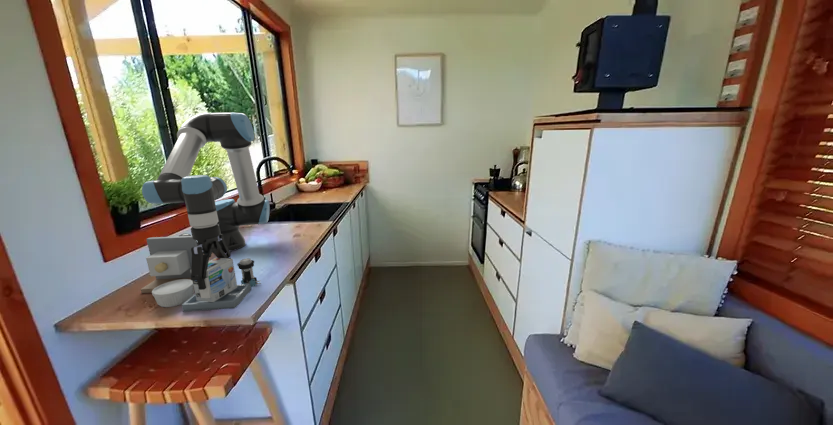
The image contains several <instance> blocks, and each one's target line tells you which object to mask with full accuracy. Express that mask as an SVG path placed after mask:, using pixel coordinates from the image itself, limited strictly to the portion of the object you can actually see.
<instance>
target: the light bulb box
mask: <svg viewBox="0 0 833 425" xmlns="http://www.w3.org/2000/svg"><path fill="white" fill-rule="evenodd" d="M229 258H230V257H229ZM229 258H217V257H216V256H215V257H214V258H212V259H211V260H210V259H209V262H208V267H207V271H206V272H207V273H206V278H207V277H208V281H209V286H210V291H211V296H212V297H210V298H201V295H200V291H199V287H198V282H197V280H193V286H194V287H193V291H194V294H195V295H196V300H197V301H207V302H215V301H216V300H218V299H219V298H221V297H223V296H224V295H226V294H228V293H229V292H231V291H232V290H234V289H236V288H237V285H238V283H237V278H236V277H237V276H236V271H235V264H234V259H233V258H231V259H229ZM190 271H191V270H190Z"/></svg>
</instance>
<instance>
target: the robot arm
mask: <svg viewBox="0 0 833 425" xmlns="http://www.w3.org/2000/svg"><path fill="white" fill-rule="evenodd" d="M176 138H177V140H176V142H175V144H174V146H173V148H172V150H171V152H170V154H169V156H168V157H167V160H166V162H165V164H164V166H163V168H162V170H161V172H160V173H159V175H158V177H157V179H156V180H154V179H151V180H148V181H145V182H144V183H143V184H142V187H141V193H142V197H143V199H144V200H145V201H146V202H147V203H149V204H152V205H153V204H154V205H156V204H157V205H158V204H159V205H165V204H166V205H167V204H179V203H185V208H186V211H187V219H188V222H189V226H190V227H191V228H190V232H191V235H192V238H193V239H194V240H196V241H197V242H198V246H197V247H192V248H191V252H192V266H191V280H192V281H193V280H197V282H198V287H199V291H200V295H201V298H210V297H212V296H211V291H210V286H209V281H208V277H207V278H206V273H207V272H206V271H207V267H208V262H209V261H210V258H211V257H212V254H214V256H215V258H216V257H217V258H229V259H232V257H231V256H232V253H231V252H232V251H233V252H234V251H236V250H238V249H242V248H243V247H245V246H246V240H245V238H244V236H243V234H242V232H241V231H240V227H242V226H253V225H254V226H255V225H263V224H264V225H265V224H266V223H267V224H268V221H269V218H270V208H271V207H270V201H269V200H268V199H265V197H264V195H262V194H261V193H260V191H259V186H258V182H257V178H256V174H255V169H254V165H253V161H252V156H251V153H250V152H251V151H250V147H251V145H252V142H253V141H254V140H255V133H254V128H253V125H252V122H251V121H250V119H249V117H248V116H247V115H246V114H245V113H242V112H234V111H232V112H202V113H198V114H196V115H194V116H193V115H192V117H190V118H189V119H187V120H185V122H184V123H182V124H181V126H180V127H179V128H178V131H177V133H176ZM213 142H214V143H220V146H221V148H222V149H223V150H224V151H225V150H226V153H227V156H228V157H227V158H228V160H229V163H230V169H231V171H232V174H233V179H234V183H235V185H236V189H237V192H238V193H237V194H238V196H239V197H238V198H237V200H236V201H235V199H233V198H229V199H222V200H219V199H221V198H223V197H224V196H225V195H226V193H227V192H228V191H227V190H228V185H227V183H226V181H225V180H223V179H222V178H221V177H218V176H209V175H207V174H195V175H190V174H191V173H192V170H193V167H194V165H195V163H196V160H197V157H198V155H199V152H200V150H201V149H202V148H204V147H205V146H206V144H207V143H213ZM203 254H204V255H203Z"/></svg>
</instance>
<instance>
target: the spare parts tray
mask: <svg viewBox="0 0 833 425" xmlns="http://www.w3.org/2000/svg"><path fill="white" fill-rule="evenodd" d="M251 291H252V287H251V286H250V284H237V288H236V289H234V290H232V291H231V292H229V293H228V294H226V295H224V296H223V297H221V298H219V299H218V300H216V301H215V302H207V301H197V300H196V295H195V293H193V296H192V297H191V298H189V299H188V300H187V301H186V302H184V303H183V304H181V308H182V312H185V313H186V312H198V311H199V312H200V311H215V310H216V311H217V310H218V311H219V310H233V309H236V308H237V307H238V306H239V305H240V304H241V302H242V301H243V300H244V299H245V298H246V296H248V295H249V293H250V292H251Z"/></svg>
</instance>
